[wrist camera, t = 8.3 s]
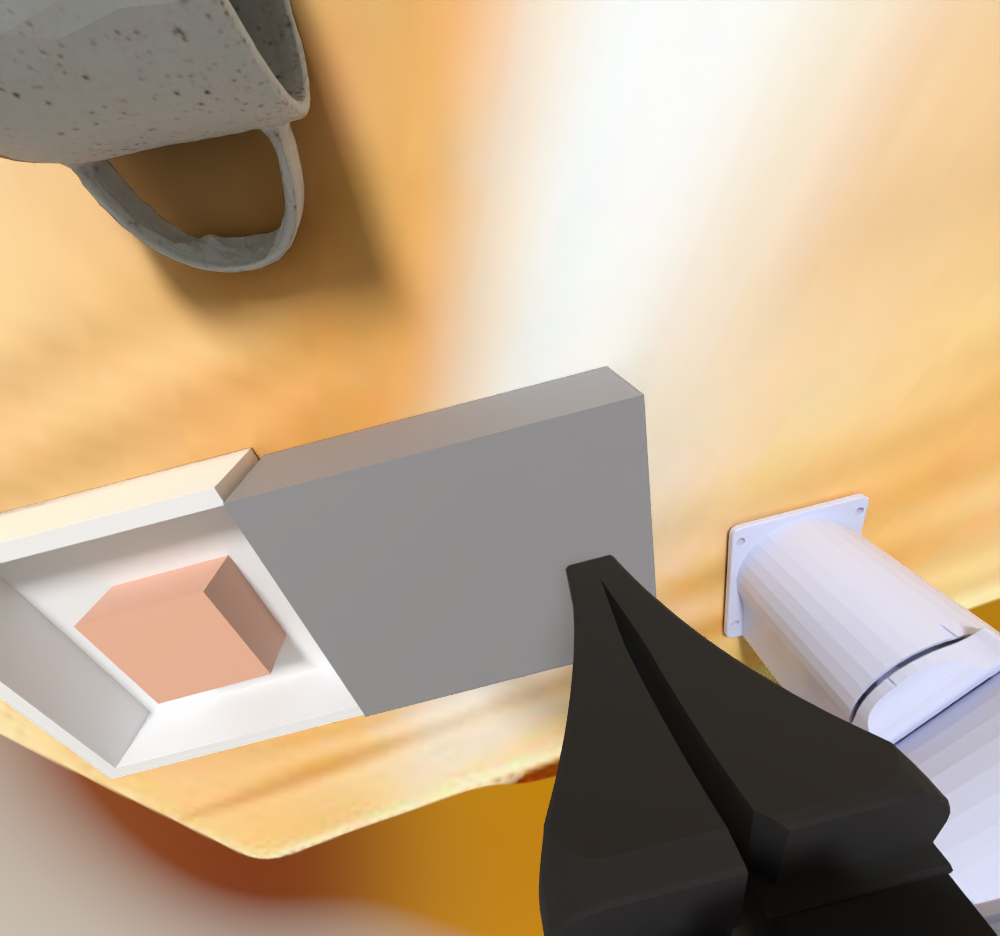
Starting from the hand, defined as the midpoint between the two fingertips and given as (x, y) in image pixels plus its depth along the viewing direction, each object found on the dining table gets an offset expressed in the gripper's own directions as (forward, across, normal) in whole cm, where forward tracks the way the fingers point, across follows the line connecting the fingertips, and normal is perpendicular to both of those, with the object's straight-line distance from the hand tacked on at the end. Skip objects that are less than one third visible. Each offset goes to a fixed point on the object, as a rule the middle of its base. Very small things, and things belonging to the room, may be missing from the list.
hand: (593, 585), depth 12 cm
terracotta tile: (+6, +19, +4) cm, 20 cm away
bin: (+9, +20, +4) cm, 22 cm away
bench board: (+9, +4, +4) cm, 11 cm away
